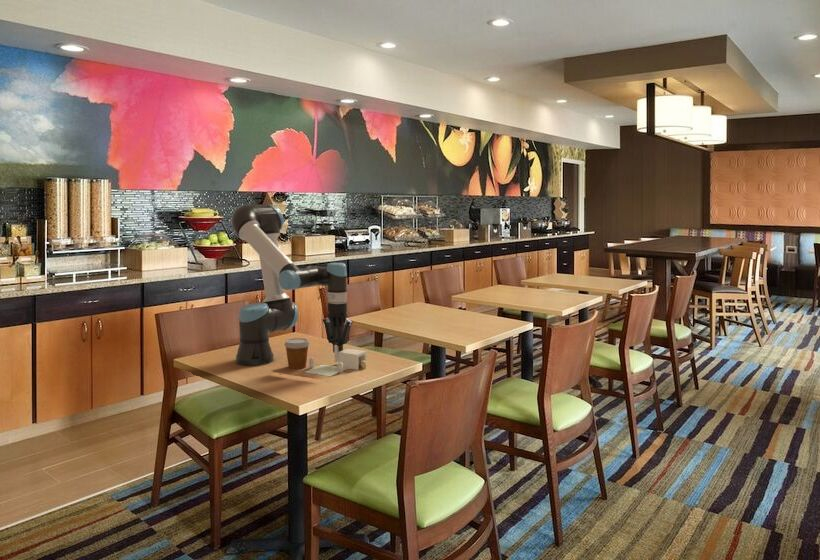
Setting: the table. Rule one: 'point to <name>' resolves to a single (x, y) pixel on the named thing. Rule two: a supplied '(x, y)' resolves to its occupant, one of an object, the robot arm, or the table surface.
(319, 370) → the board
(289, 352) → the disposable coffee cup
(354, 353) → the block
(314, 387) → the table surface
